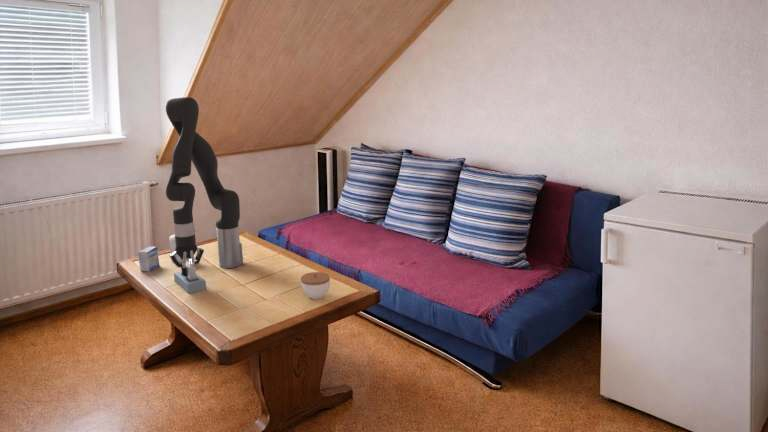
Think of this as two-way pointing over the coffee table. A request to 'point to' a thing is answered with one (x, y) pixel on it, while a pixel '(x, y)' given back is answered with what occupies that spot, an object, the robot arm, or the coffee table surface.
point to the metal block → (190, 272)
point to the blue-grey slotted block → (190, 283)
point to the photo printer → (174, 247)
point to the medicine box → (148, 258)
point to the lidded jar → (315, 284)
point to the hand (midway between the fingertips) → (188, 275)
